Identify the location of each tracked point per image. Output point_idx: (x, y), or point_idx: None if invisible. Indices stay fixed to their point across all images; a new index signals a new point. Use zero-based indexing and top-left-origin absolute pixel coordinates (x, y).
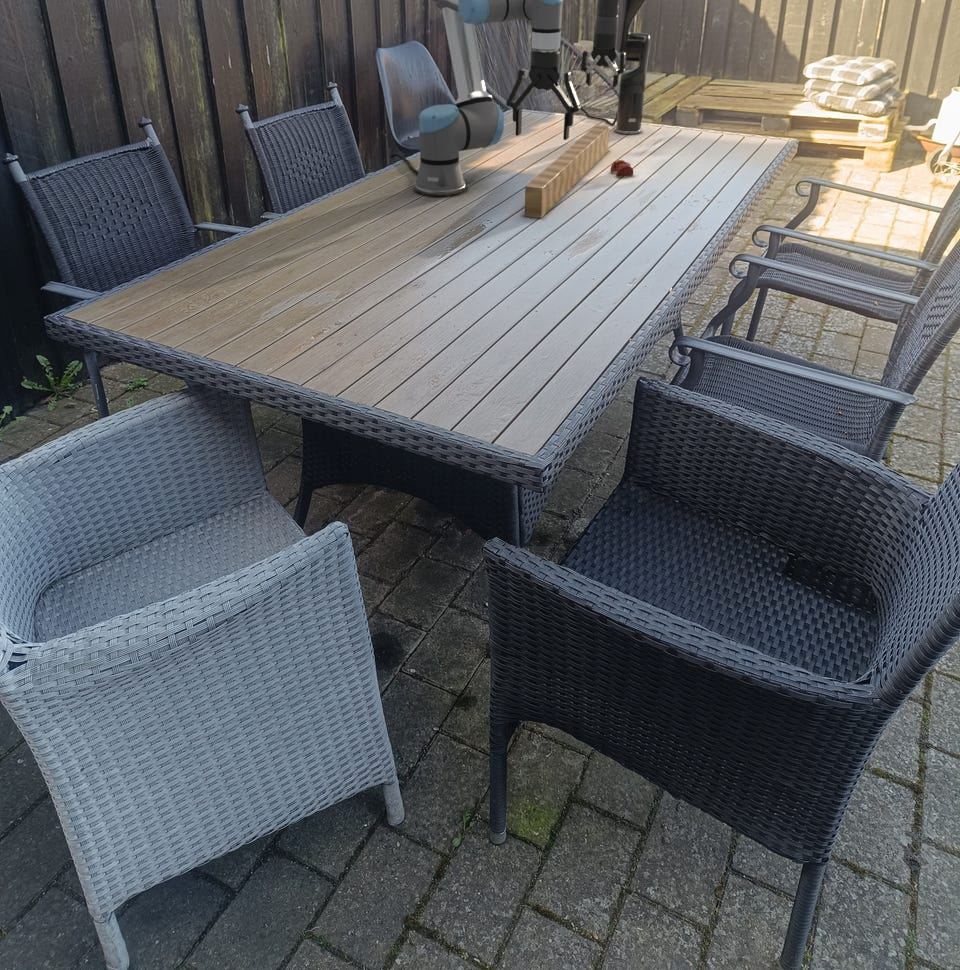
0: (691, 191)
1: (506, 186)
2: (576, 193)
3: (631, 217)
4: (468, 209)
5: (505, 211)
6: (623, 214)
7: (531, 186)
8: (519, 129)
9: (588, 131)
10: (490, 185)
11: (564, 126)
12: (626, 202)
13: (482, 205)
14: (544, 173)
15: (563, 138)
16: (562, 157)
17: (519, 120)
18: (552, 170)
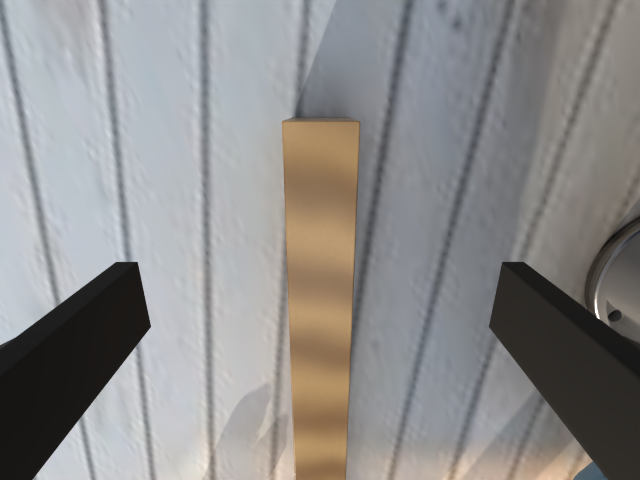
0: None
1: (469, 357)
2: (272, 362)
3: (51, 227)
4: (546, 121)
5: (421, 146)
6: (83, 244)
7: (334, 130)
8: (517, 306)
9: None
10: None
11: (70, 316)
12: None
13: (507, 178)
14: (337, 311)
15: (133, 266)
16: (333, 475)
17: (567, 349)
18: (320, 351)
